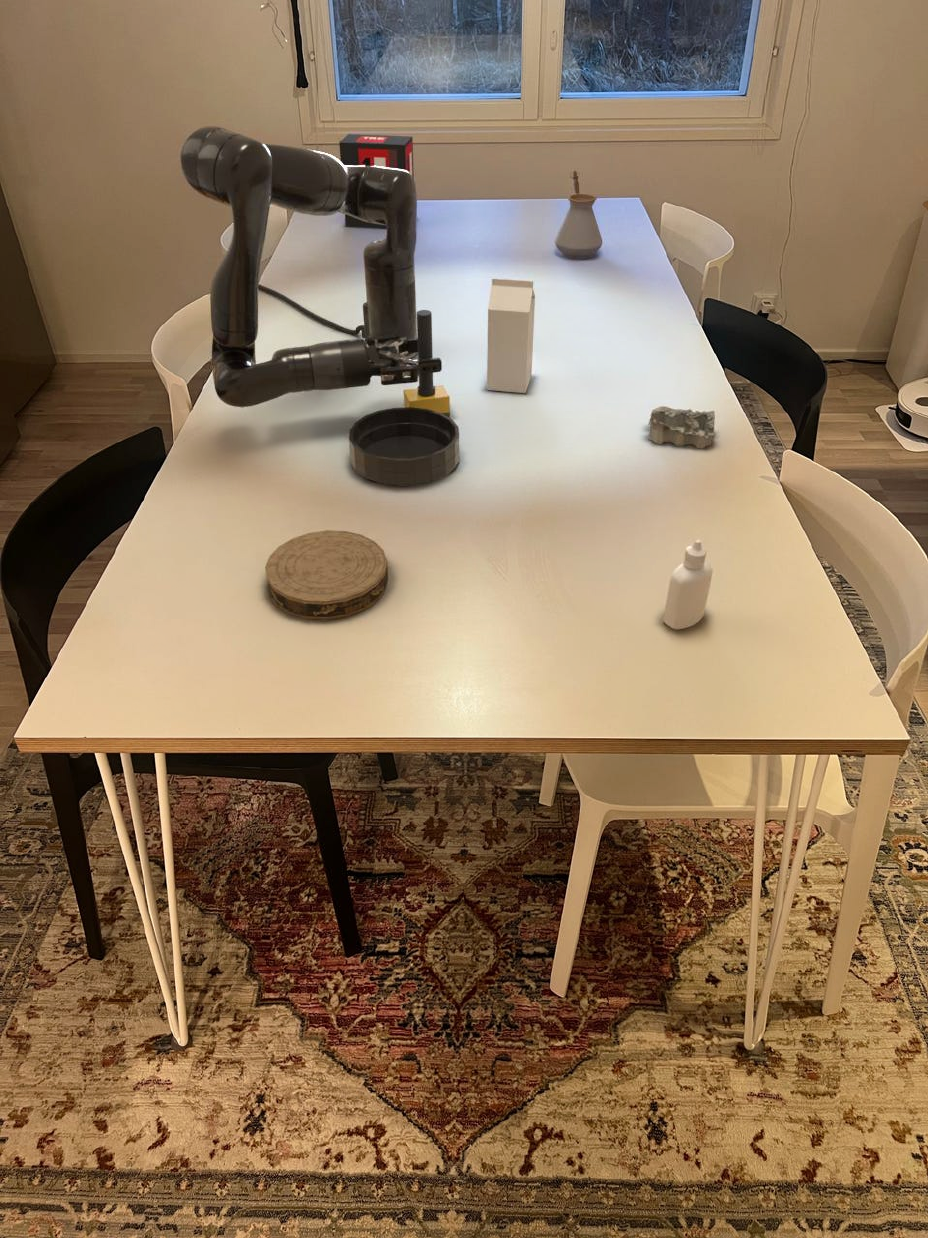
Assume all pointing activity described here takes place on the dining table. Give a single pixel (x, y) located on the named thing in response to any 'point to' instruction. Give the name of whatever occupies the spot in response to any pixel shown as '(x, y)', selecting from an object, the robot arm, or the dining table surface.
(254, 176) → the robot arm
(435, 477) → the bowl
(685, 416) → the egg carton
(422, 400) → the sponge wand
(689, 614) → the eye dropper bottle
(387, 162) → the cleaning product box
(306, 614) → the wood slice
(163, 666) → the dining table surface
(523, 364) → the milk carton
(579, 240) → the coffee pot
